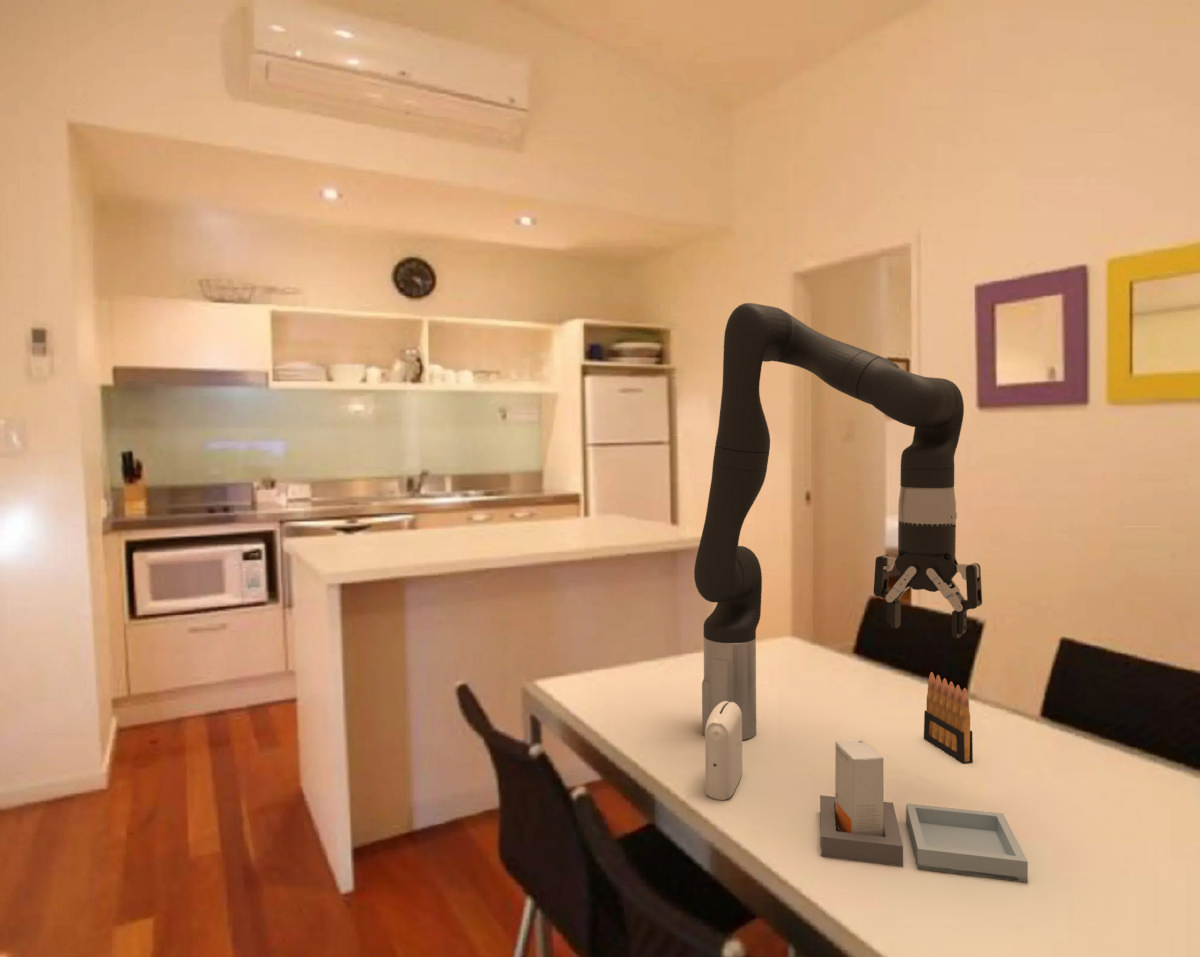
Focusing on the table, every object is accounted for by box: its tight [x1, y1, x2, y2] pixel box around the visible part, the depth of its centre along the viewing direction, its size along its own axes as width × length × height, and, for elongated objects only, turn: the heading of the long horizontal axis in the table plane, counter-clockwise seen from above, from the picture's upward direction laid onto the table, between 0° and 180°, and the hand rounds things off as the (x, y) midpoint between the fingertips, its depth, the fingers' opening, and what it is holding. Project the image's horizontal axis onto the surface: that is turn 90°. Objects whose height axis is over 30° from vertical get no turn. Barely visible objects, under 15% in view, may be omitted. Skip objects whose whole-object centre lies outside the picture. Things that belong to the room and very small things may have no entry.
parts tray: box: [905, 803, 1029, 883], centre depth 98 cm, size 12×12×2 cm
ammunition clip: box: [923, 671, 974, 764], centre depth 128 cm, size 11×2×12 cm, turn 10°
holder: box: [819, 794, 904, 867], centre depth 101 cm, size 10×12×2 cm
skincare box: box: [834, 739, 884, 837], centre depth 101 cm, size 6×4×12 cm
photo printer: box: [704, 701, 743, 801], centre depth 117 cm, size 10×4×12 cm, turn 158°
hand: (925, 631), depth 110 cm, fingers open, 8 cm apart
